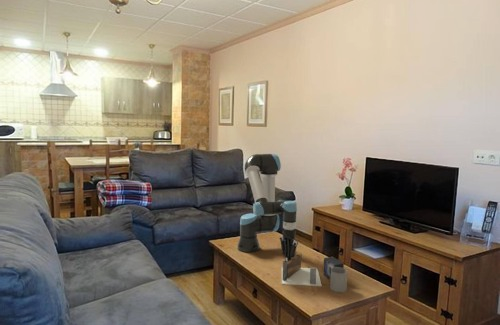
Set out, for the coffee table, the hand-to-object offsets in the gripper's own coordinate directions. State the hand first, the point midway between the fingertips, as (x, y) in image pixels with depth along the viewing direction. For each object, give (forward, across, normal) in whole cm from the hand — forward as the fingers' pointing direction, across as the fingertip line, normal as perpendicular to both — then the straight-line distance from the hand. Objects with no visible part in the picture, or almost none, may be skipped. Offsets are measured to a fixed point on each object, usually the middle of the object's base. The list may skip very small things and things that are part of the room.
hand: (287, 267), depth 205 cm
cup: (+2, +31, +6) cm, 32 cm away
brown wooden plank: (+1, +4, 0) cm, 5 cm away
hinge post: (+3, +7, -10) cm, 12 cm away
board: (+2, +9, +1) cm, 10 cm away
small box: (+2, +22, +14) cm, 26 cm away
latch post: (+2, +20, -1) cm, 20 cm away
